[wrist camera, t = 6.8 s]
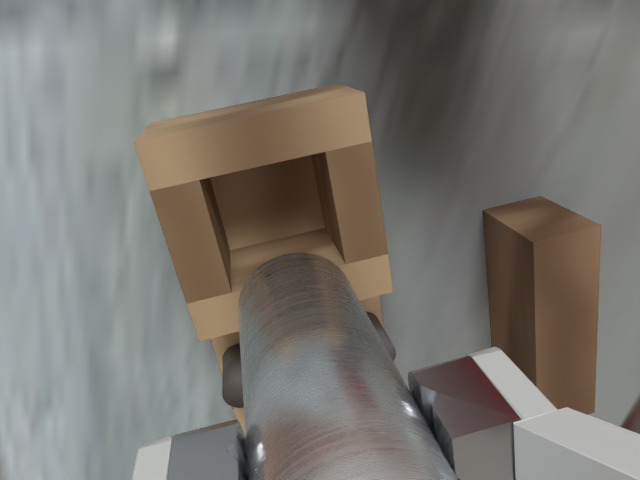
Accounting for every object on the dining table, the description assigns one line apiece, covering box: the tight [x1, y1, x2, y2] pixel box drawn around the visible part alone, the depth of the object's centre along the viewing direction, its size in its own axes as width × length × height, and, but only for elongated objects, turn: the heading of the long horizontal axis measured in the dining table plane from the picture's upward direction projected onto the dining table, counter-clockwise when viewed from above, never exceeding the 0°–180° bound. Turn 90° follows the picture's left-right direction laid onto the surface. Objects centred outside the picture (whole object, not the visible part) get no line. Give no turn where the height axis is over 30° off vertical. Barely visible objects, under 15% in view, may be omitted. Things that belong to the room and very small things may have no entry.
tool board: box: [133, 84, 396, 451], centre depth 22 cm, size 8×18×5 cm, turn 11°
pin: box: [238, 252, 458, 480], centre depth 8 cm, size 3×3×9 cm
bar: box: [483, 196, 601, 414], centre depth 24 cm, size 3×10×4 cm, turn 11°
